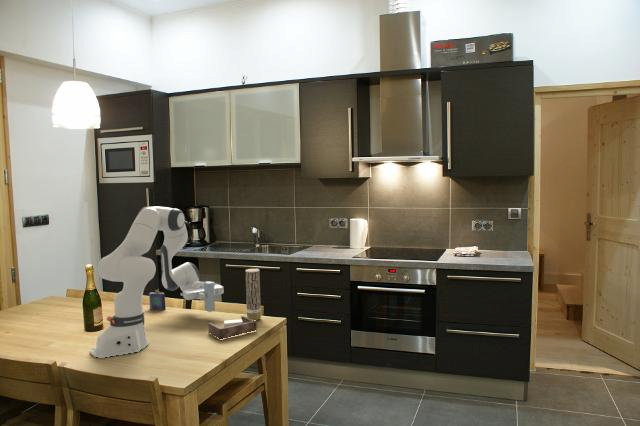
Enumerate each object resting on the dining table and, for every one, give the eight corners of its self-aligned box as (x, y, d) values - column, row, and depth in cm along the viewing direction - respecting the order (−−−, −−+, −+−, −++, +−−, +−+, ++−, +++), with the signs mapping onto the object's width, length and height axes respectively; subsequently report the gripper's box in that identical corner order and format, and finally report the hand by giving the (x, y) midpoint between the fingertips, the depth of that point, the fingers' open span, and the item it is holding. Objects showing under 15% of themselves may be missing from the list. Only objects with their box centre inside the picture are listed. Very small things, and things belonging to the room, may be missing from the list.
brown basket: (220, 340, 217) (220, 329, 217) (208, 333, 227) (208, 323, 226) (256, 332, 228) (256, 321, 228) (243, 325, 238) (243, 315, 237)
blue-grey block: (209, 311, 243) (208, 283, 242) (204, 309, 247) (203, 282, 246) (214, 310, 245) (213, 282, 244) (210, 308, 249) (209, 281, 248)
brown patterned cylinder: (244, 320, 246) (242, 270, 244) (252, 316, 252) (250, 268, 250) (255, 322, 243) (254, 271, 241) (263, 318, 249) (262, 269, 247)
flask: (148, 309, 271) (148, 290, 270) (151, 308, 273) (151, 288, 273) (164, 310, 268) (163, 290, 268) (167, 308, 271) (166, 289, 270)
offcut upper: (224, 330, 223) (224, 323, 223) (224, 327, 227) (223, 320, 227) (242, 328, 225) (242, 321, 225) (241, 325, 229) (241, 319, 229)
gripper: (178, 287, 249) (189, 292, 238) (216, 281, 262) (228, 285, 251) (179, 299, 250) (190, 305, 239) (216, 293, 262) (228, 298, 251)
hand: (210, 295), depth 245 cm, fingers closed on blue-grey block, 3 cm apart
